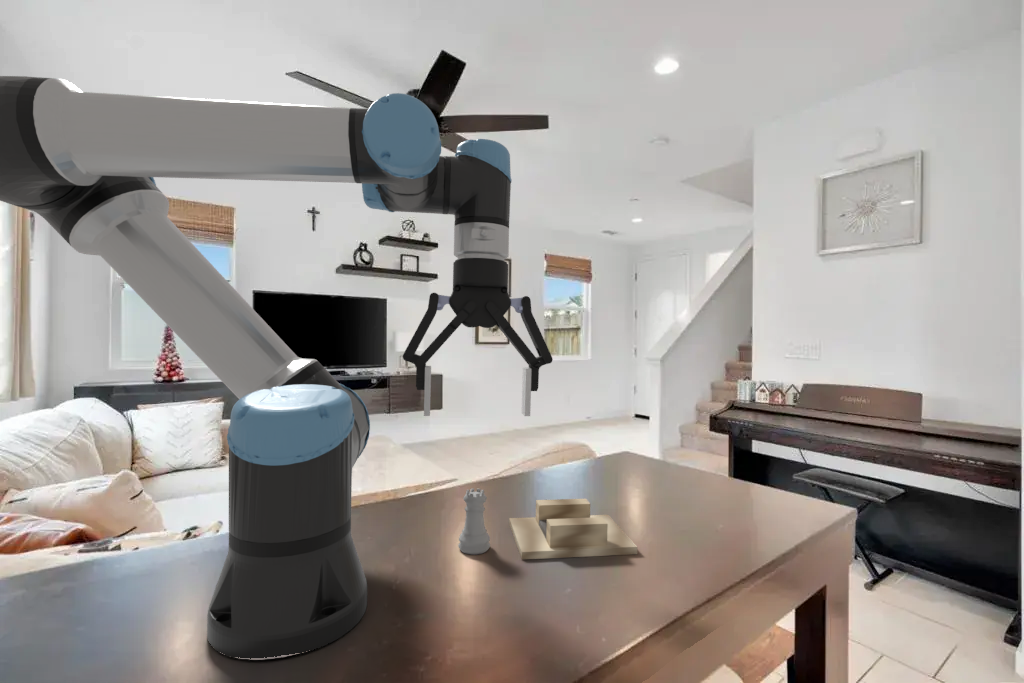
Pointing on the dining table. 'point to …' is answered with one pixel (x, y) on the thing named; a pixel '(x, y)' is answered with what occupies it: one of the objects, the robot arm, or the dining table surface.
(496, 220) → the robot arm
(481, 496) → the rook chess piece
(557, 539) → the birch mount
